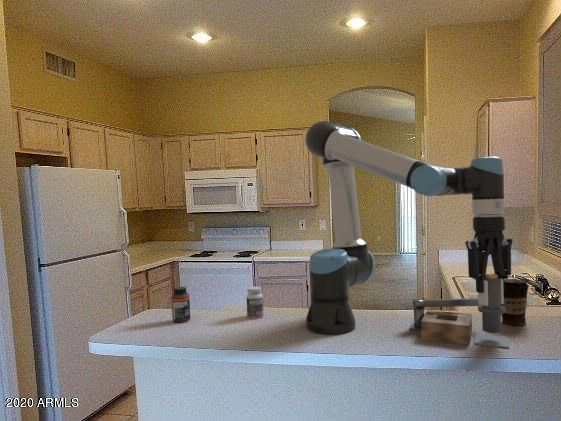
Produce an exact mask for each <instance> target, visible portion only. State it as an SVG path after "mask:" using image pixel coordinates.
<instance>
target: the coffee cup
mask: <svg viewBox="0 0 561 421" xmlns="http://www.w3.org/2000/svg"><path fill="white" fill-rule="evenodd" d="M529 287H530V285H529V284H528V283H527V281H526V280H524V279H518V278H508V279H505V289H504V290H503V293H504V304H501V306H502V307H504V308H505V313H504V314H501V323H502V324H503V323H504V324H506V325H511V326H525V325H526V324H527V322H526V310H527V308H528V291H529Z"/></svg>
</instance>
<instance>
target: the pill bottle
mask: <svg viewBox="0 0 561 421" xmlns="http://www.w3.org/2000/svg"><path fill="white" fill-rule="evenodd" d="M247 293H248V294H247V295H246V316H247V318H248V319H251V318H252V319H254V320H256V319H257V320H258V319H262V318H263V317H264V316H265V314H264V313H265V312H264V295H263V293H262V287H261V286H250V287H248V288H247Z"/></svg>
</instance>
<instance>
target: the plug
mask: <svg viewBox="0 0 561 421" xmlns="http://www.w3.org/2000/svg"><path fill="white" fill-rule="evenodd" d="M485 280H486V281H488V306H484V305H478V306H477V311H478V312H480V313H481V314H482V317H481V321H482V324H481V326H482V332H486V333H488V334H500V333H501V332H502V316H501V314H504V313H505V308H504V307H502V306H501V298H500V278H498V277H497V274H495V273H493V272H492V273H491V272H490V273H489V272H486V275H485Z"/></svg>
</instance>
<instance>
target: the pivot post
mask: <svg viewBox="0 0 561 421" xmlns="http://www.w3.org/2000/svg"><path fill="white" fill-rule="evenodd" d="M424 315H425V308H414V307H413V322H412V323H411V324H410V326H409V327H408V330H409V331H414V330H415V332H421V320H422V319H423V317H424Z"/></svg>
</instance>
